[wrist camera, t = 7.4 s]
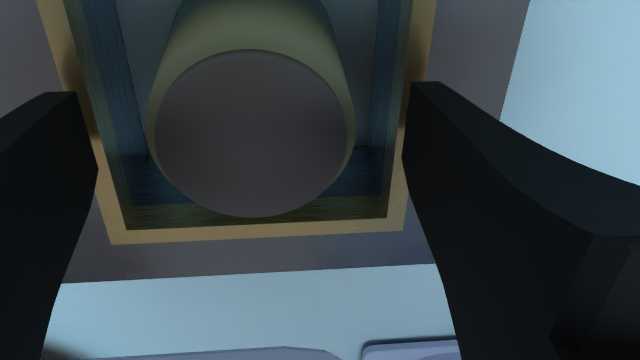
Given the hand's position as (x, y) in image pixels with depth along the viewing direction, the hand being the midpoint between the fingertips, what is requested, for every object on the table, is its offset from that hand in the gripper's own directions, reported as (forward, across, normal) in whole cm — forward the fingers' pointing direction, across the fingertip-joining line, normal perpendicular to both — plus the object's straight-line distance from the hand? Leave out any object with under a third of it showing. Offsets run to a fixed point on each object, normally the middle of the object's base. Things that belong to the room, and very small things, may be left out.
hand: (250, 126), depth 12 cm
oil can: (+4, 0, 0) cm, 4 cm away
